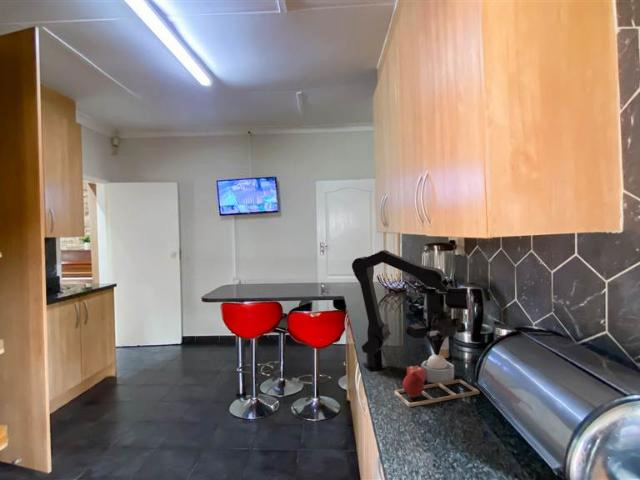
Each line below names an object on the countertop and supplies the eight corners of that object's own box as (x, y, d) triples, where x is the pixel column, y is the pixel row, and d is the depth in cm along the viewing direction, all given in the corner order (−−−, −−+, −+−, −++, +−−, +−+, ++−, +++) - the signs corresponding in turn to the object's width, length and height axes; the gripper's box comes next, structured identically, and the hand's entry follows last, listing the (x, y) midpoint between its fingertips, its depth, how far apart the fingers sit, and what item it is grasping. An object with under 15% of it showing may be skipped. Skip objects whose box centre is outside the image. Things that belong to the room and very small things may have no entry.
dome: (421, 370, 122) (421, 352, 122) (440, 367, 124) (440, 349, 124) (434, 378, 115) (433, 359, 115) (453, 375, 117) (453, 356, 117)
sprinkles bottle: (434, 354, 140) (433, 320, 140) (445, 353, 140) (444, 319, 140) (439, 359, 135) (438, 323, 135) (451, 358, 136) (450, 322, 135)
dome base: (403, 376, 122) (402, 362, 121) (441, 369, 125) (441, 356, 125) (418, 387, 112) (417, 373, 112) (459, 380, 116) (459, 366, 116)
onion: (420, 392, 109) (419, 366, 109) (426, 401, 103) (425, 373, 103) (401, 393, 109) (400, 367, 109) (406, 402, 103) (405, 375, 103)
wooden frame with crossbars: (394, 393, 109) (393, 390, 109) (460, 381, 116) (459, 379, 116) (409, 407, 101) (408, 404, 101) (479, 393, 107) (479, 390, 107)
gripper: (423, 315, 109) (424, 367, 109) (476, 309, 114) (477, 359, 114) (404, 308, 119) (406, 355, 120) (454, 302, 124) (455, 348, 125)
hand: (436, 354), depth 119 cm, fingers closed, pressing on dome
